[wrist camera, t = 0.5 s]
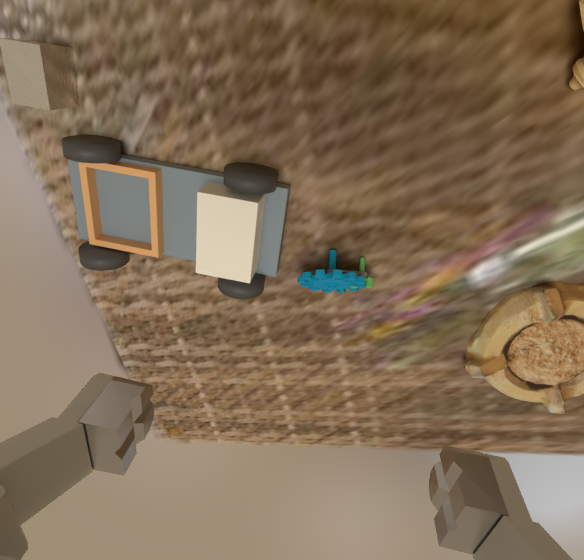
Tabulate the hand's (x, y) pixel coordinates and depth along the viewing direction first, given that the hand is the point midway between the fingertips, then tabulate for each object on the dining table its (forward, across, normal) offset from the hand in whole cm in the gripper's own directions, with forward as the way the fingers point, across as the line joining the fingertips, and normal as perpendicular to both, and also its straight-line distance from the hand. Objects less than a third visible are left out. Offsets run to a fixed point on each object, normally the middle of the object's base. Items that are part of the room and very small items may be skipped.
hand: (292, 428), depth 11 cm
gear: (+46, -3, +19) cm, 50 cm away
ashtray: (+46, -38, +25) cm, 65 cm away
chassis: (+46, +22, +13) cm, 52 cm away
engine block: (+46, +39, -3) cm, 60 cm away
